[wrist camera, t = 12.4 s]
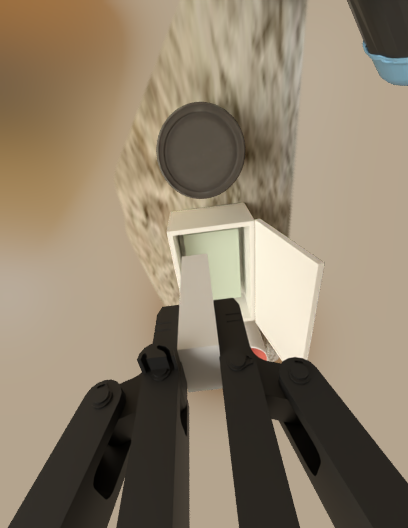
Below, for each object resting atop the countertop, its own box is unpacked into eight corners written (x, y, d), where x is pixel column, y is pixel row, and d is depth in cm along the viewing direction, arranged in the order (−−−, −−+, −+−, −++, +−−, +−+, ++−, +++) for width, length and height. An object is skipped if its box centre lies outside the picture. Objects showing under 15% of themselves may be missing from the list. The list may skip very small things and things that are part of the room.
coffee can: (197, 87, 36) (201, 76, 24) (241, 141, 40) (263, 155, 29) (152, 141, 40) (137, 155, 28) (197, 186, 44) (201, 215, 32)
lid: (298, 385, 38) (303, 382, 38) (318, 264, 26) (325, 262, 26) (255, 322, 50) (259, 321, 50) (255, 219, 38) (260, 218, 38)
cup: (251, 342, 67) (260, 375, 59) (216, 339, 66) (220, 373, 58) (262, 316, 62) (274, 348, 54) (224, 312, 61) (230, 345, 52)
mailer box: (187, 299, 58) (187, 328, 50) (170, 211, 46) (166, 231, 39) (246, 292, 58) (255, 320, 50) (243, 202, 46) (254, 220, 38)
